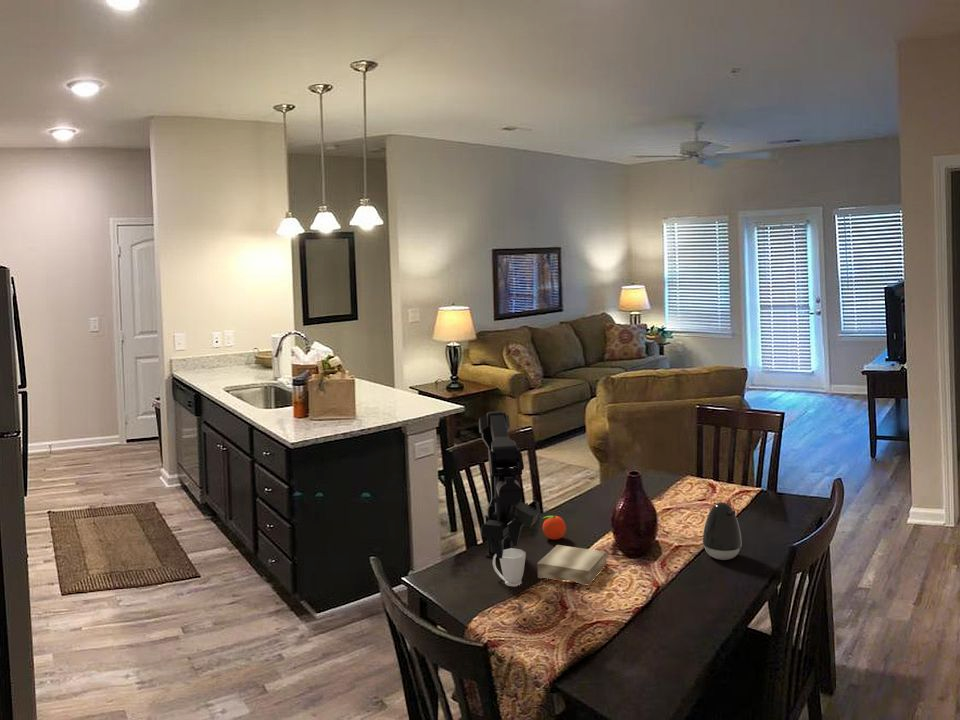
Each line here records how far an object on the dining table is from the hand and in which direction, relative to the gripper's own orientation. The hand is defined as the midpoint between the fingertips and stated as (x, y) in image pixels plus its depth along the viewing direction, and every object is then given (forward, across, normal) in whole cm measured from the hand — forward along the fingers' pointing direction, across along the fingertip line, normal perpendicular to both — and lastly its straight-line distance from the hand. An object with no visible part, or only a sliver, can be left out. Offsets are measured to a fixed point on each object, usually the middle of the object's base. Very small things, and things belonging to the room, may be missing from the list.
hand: (507, 551), depth 204 cm
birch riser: (+8, +12, -13) cm, 19 cm away
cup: (+8, 0, 0) cm, 8 cm away
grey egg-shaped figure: (+8, +37, -47) cm, 60 cm away
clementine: (+8, +33, +1) cm, 34 cm away
